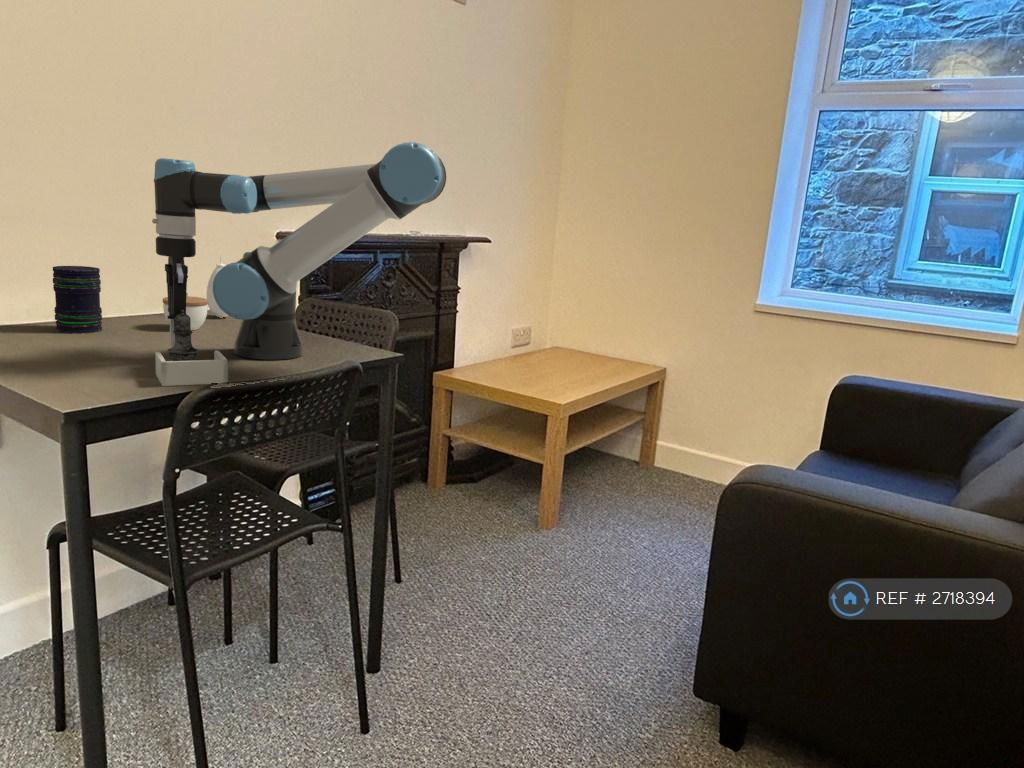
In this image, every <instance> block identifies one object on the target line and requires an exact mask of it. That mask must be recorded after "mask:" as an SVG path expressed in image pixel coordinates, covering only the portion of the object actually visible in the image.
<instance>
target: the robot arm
mask: <svg viewBox="0 0 1024 768" xmlns="http://www.w3.org/2000/svg"><path fill="white" fill-rule="evenodd" d="M153 176H154V177H153V183H154V203H155V204H154V205H155V210H154V211H155V212H154V213H155V218H152V220H151V222H152V224H155V234H157V235H159V236H156V237H155V253H156V254H157V255H158V256H162V257H167V263H165V264H164V272H165V273H166V274H165V275H166V276H165V277H166V279H165V280H166V288H167V289H166V290H167V297H168V312H170V313H169V315H170V316H167V317H168V319H170V324H169V347H170V348H173V347H174V344H175V333H173V331H175V317H176V316H177V315H179V314H181V313H182V312H181V311H182V310H184V314H186V293H187V290H188V289H187V287H188V286H187V284H188V278H189V275H188V272H189V268H188V267H189V266H188V265H186V264H185V258H193V257H195V256H196V255H197V253H196V252H197V249H196V248H197V246H196V245H197V243H196V240H195V239H194V238H193V237H195V236H196V235H197V234H196V233H197V230H196V229H197V228H196V227H197V225H196V222H197V221H196V220H197V218H196V210H201V211H202V210H204V211H212V212H222V213H231V214H235V215H236V214H237V215H238V214H240V215H241V214H245V215H247V214H250V213H259V212H261V211H270V210H280V209H290V208H291V209H292V208H301V207H310V206H322V205H330V204H331V205H330V206H328V207H326V208H325V209H324V210H323V211H321V212H320V213H318V214H317V215H315V216H314V217H312V218H311V219H309V220H307V222H306V223H304V224H302V225H301V226H299V227H298V228H297V229H295V230H294V231H293V232H291V233H290V234H288V235H287V236H285V237H284V238H282V239H280V240H279V241H278V242H277V243H275V244H274V245H273V246H270V247H269V246H264V245H259V246H258V247H257V248H254V249H253V250H251V251H246V252H244V253H243V255H242V258H240V259H239V260H238V261H236V262H230V263H227V264H225V265H226V266H224V267H223V268H222V269H221V270H220V271H219V272H218V273H217V274H216V276H215V278H214V281H213V295H214V298H215V301H216V303H217V305H218V306H219V307H220V309H221V310H222V311H223V312H224V313H226V314H227V315H228V316H229V317H231V318H233V319H236V320H241V323H240V325H239V329H238V331H237V335H236V338H235V341H234V351H233V352H234V354H235V355H236V356H240V357H243V358H248V359H253V360H254V359H255V360H268V361H271V360H272V361H275V360H276V361H277V360H288V359H295V358H298V357H301V356H302V355H303V342H302V339H301V335H300V333H299V329H298V326H297V322H296V313H297V312H296V310H297V309H296V308H297V307H296V306H297V302H296V301H297V285H298V282H299V281H300V280H302V279H303V278H305V277H306V276H308V275H309V274H310V273H312V272H314V271H315V270H316V269H318V268H319V267H321V266H322V265H323V264H325V263H327V262H328V261H329V260H330V259H332V258H333V257H335V256H336V255H338V254H339V253H341V252H342V251H343V250H345V249H347V248H348V247H349V246H351V245H352V244H354V243H355V242H357V241H358V240H359V239H361V238H362V237H364V236H365V235H366V234H368V233H370V232H371V231H373V230H374V229H375V228H377V227H379V226H380V225H381V224H383V223H384V222H386V221H387V220H388V219H395V220H399V221H400V220H401V219H403V218H405V217H406V216H407V215H409V214H411V213H412V212H413V211H415V210H416V209H418V208H419V207H420V206H422V205H425V204H429V203H431V202H433V201H434V200H436V199H437V198H439V196H440V195H441V194H442V193H443V191H444V188H445V187H446V184H447V183H446V182H447V171H446V167H445V165H444V163H443V161H442V159H441V158H440V157H439V156H438V155H437V154H436V153H435V152H434V150H432V149H431V148H430V147H428V146H426V145H425V144H422V143H419V142H413V141H409V142H403V143H399V144H396V145H395V146H392V147H391V148H390V149H389V150H388V151H387V152H386V153H385V154H384V156H383V157H382V158H381V159H380V160H379V162H377V163H372V164H361V165H352V166H349V165H348V166H343V167H341V166H340V167H331V168H321V169H311V170H302V171H292V172H291V171H290V172H282V173H273V174H262V175H252V176H251V175H250V176H244V175H239V174H225V173H224V174H223V173H212V172H202V171H198V170H197V169H196V166H195V163H194V162H193V161H191V160H184V159H174V158H164V157H160V158H158V159H156V160H155V163H154V175H153ZM170 348H169V349H170Z"/></svg>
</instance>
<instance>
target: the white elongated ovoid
mask: <svg viewBox="0 0 1024 768" xmlns="http://www.w3.org/2000/svg"><path fill="white" fill-rule="evenodd" d="M219 262H220V263H217V264H216V267H215V268H214V270H213V271H212V273H211V275H210V277H209V278H208V279H209V280H208V283H207V286H206V299H207V300H208V304H207V306H208V309H209V311H210V313H212V314H214V316H215V317H217V318H218V317H219V319H224V318H223V317H225V318H227V317H228V316H229V315H227V314H226V313H224V312H223V311H222V310H221V309H220V307H219V306H218V305H217V303H216V301H215V298H214V295H213V281H214V278H215V276H216V274H217V273H218V272H219V271H220V270H221V269H222V268H223V267H224V266H226V265H227V264H224V263H223V255H221V254H220V261H219Z"/></svg>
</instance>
